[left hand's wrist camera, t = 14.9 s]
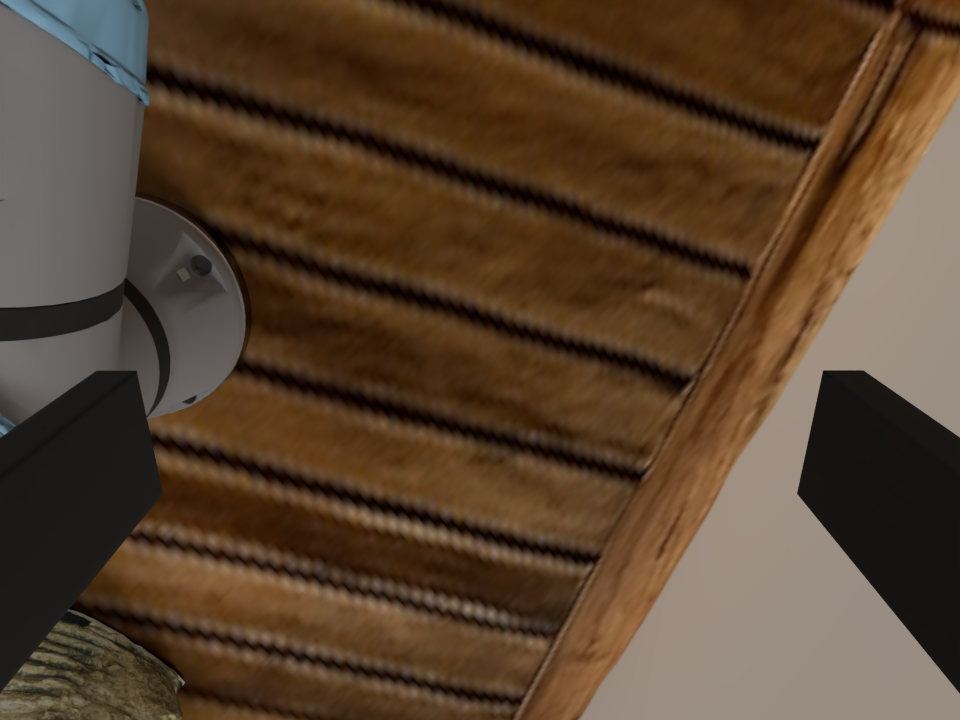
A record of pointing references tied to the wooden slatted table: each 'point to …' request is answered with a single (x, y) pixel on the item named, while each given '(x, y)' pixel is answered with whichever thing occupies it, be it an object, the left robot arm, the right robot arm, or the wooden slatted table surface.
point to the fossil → (91, 678)
